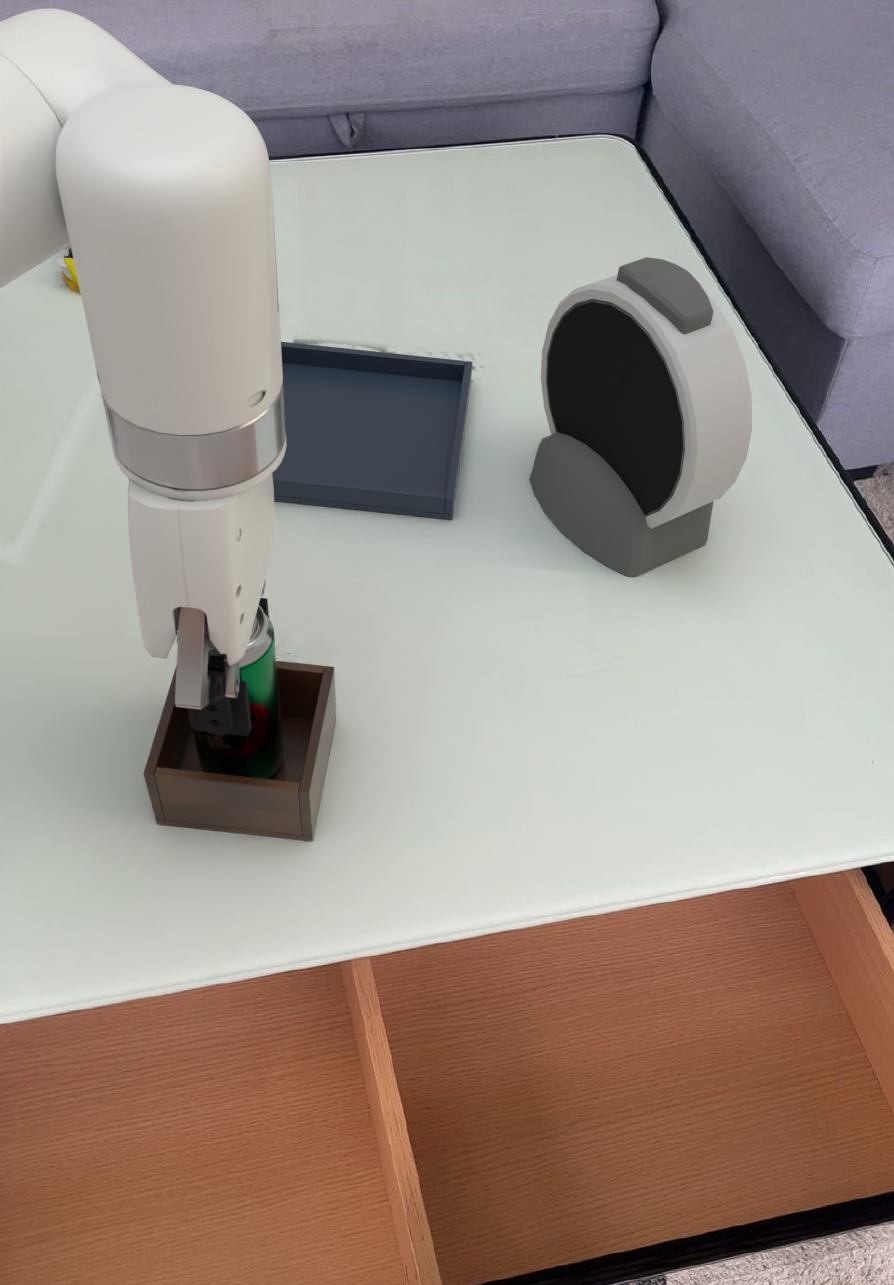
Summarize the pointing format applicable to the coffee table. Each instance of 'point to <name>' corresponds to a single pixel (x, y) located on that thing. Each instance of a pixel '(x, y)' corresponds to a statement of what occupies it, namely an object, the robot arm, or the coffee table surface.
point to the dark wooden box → (246, 801)
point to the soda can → (265, 739)
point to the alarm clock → (640, 416)
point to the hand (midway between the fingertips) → (232, 685)
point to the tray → (372, 430)
